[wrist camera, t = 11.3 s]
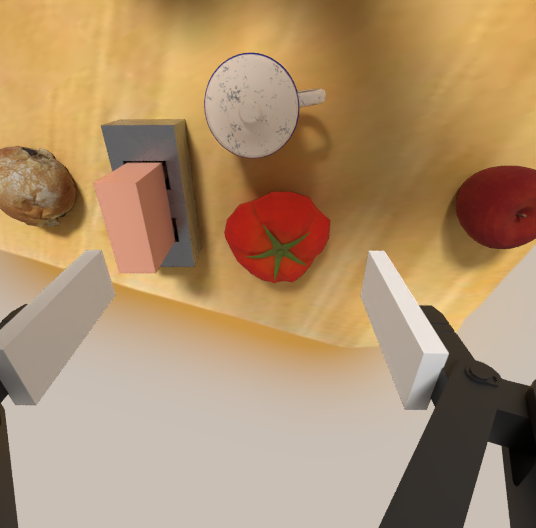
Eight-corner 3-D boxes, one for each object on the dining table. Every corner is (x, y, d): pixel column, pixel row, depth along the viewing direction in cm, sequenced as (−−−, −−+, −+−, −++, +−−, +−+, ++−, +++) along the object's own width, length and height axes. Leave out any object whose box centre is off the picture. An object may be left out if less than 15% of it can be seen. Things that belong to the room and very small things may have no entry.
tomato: (238, 268, 50) (232, 302, 42) (222, 189, 43) (211, 214, 36) (327, 258, 49) (337, 292, 41) (324, 177, 42) (335, 199, 35)
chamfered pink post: (136, 157, 39) (93, 182, 30) (169, 156, 39) (135, 182, 30) (152, 230, 44) (119, 273, 35) (181, 230, 44) (155, 273, 35)
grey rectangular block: (119, 119, 39) (100, 125, 35) (184, 119, 39) (173, 124, 34) (148, 249, 48) (136, 266, 44) (201, 249, 48) (194, 266, 44)
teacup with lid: (226, 148, 40) (211, 172, 30) (209, 64, 36) (184, 60, 26) (321, 133, 39) (337, 153, 29) (316, 45, 35) (333, 34, 25)
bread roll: (91, 163, 45) (59, 149, 37) (79, 233, 46) (46, 234, 38) (18, 146, 44) (-31, 128, 36) (7, 219, 45) (-43, 216, 37)
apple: (532, 176, 42) (600, 203, 33) (477, 235, 46) (524, 272, 37) (478, 142, 40) (535, 160, 31) (426, 207, 44) (463, 239, 35)
